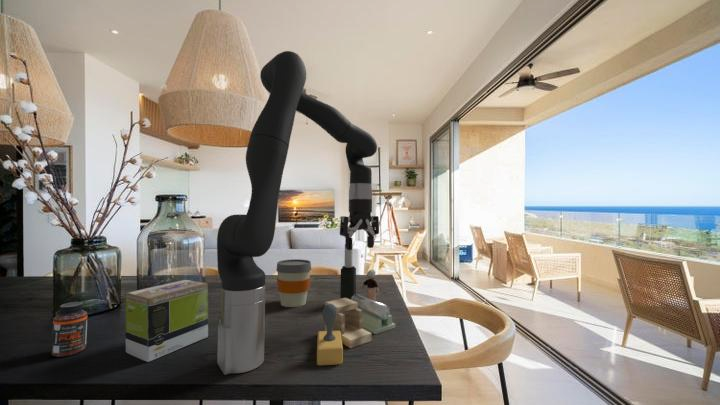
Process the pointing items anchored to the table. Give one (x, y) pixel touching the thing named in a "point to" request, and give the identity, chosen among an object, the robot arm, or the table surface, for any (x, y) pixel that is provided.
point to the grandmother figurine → (371, 285)
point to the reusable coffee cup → (293, 281)
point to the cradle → (376, 323)
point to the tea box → (165, 318)
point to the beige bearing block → (349, 323)
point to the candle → (348, 276)
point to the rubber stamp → (329, 340)
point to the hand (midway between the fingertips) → (359, 248)
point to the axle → (372, 306)
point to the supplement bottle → (69, 330)
